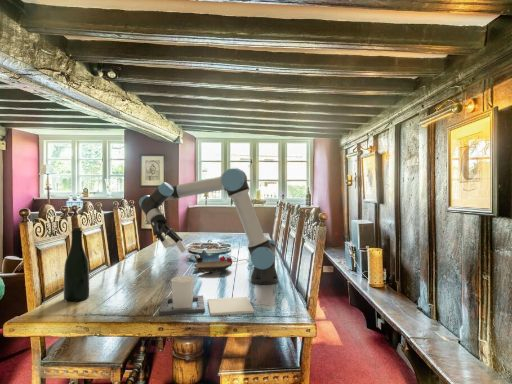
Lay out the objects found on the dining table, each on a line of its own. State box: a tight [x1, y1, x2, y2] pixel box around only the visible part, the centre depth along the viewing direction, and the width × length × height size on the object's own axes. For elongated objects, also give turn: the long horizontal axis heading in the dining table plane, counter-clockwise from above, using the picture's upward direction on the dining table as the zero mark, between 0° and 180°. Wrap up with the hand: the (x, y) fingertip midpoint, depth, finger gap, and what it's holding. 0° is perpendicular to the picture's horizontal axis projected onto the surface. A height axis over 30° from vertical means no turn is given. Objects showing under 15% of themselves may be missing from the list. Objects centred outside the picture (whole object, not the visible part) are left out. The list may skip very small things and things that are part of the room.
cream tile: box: [207, 296, 255, 316], centre depth 149 cm, size 18×18×1 cm
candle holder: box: [171, 275, 195, 309], centre depth 149 cm, size 10×10×12 cm
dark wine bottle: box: [63, 226, 90, 303], centre depth 158 cm, size 10×10×33 cm
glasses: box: [218, 255, 250, 266], centre depth 240 cm, size 14×16×5 cm
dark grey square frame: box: [159, 295, 206, 316], centre depth 149 cm, size 18×18×2 cm
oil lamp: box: [193, 254, 232, 273], centre depth 215 cm, size 22×30×8 cm
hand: (176, 248), depth 167 cm, fingers open, 13 cm apart
